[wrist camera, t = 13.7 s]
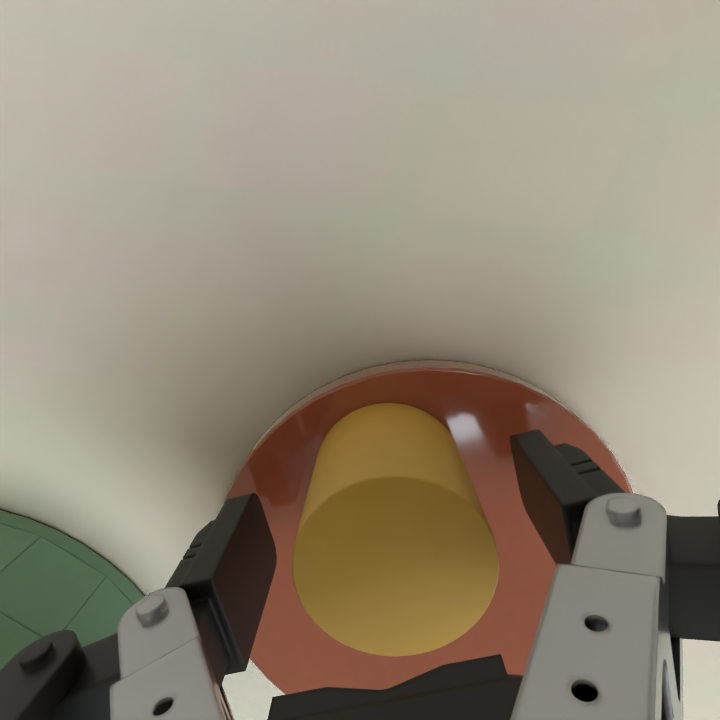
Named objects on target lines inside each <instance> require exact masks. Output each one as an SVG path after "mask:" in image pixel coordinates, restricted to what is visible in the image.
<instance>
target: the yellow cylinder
mask: <svg viewBox="0 0 720 720" xmlns="http://www.w3.org/2000/svg"><path fill="white" fill-rule="evenodd" d="M498 575H499V555H498V549H497V545H496V542H495V539H494V536H493V533H492V531H491V528H490V526H489V523H488V521H487V518H486V516H485V513H484V511H483V508H482V506H481V503H480V501H479V498H478V496H477V494H476V491H475V489H474V486H473V484H472V481H471V479H470V476H469V474H468V471H467V469H466V466H465V464H464V461H463V459H462V457H461V454H460V452H459V449H458V447H457V445H456V443H455V441H454V439H453V437H452V435H451V434H450V433H449V431H448V430H447V429H446V428H445V427H444V425H443V424H442V423H440V422H439V421H438V420H437V419H436V418H434V417H433V416H431V415H430V414H428V413H427V412H425V411H422V410H420V409H418V408H415V407H412V406H409V405H404V404H399V403H379V404H373V405H369V406H366V407H362V408H359V409H357V410H355V411H353V412H351V413H349V414H348V415H346V416H345V417H343V418H342V419H341V420H340V421H338V422H337V423H336V424H335V425H334V426H333V427H332V428H331V430H330V431H329V432H328V434H327V435H326V437H325V438H324V440H323V442H322V444H321V446H320V449H319V452H318V455H317V459H316V463H315V466H314V470H313V474H312V478H311V482H310V485H309V489H308V493H307V497H306V501H305V504H304V508H303V512H302V516H301V520H300V524H299V527H298V531H297V535H296V539H295V543H294V547H293V553H292V577H293V582H294V586H295V590H296V593H297V595H298V597H299V600H300V602H301V604H302V606H303V607H304V609H305V610H306V612H307V614H308V615H309V616H310V617H311V619H312V620H313V621H314V622H315V623H316V624H317V625H318V626H319V627H320V628H321V629H322V630H323V631H324V632H326V633H327V634H328V635H330V636H331V637H332V638H334V639H336V640H337V641H339V642H341V643H343V644H344V645H347V646H349V647H351V648H354V649H356V650H359V651H363V652H366V653H370V654H376V655H382V656H409V655H416V654H421V653H425V652H429V651H432V650H435V649H438V648H440V647H443V646H445V645H447V644H449V643H451V642H452V641H454V640H456V639H457V638H459V637H460V636H462V635H463V634H464V633H466V632H467V631H468V630H469V629H470V628H471V627H472V626H474V625H475V624H476V622H477V621H478V620H479V619H480V618H481V616H482V615H483V614H484V612H485V611H486V609H487V607H488V606H489V604H490V602H491V600H492V597H493V595H494V592H495V589H496V586H497V582H498Z"/></svg>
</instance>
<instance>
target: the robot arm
mask: <svg viewBox="0 0 720 720" xmlns="http://www.w3.org/2000/svg"><path fill="white" fill-rule="evenodd" d="M510 446H511V451H512V456H513V461H514V466H515V471H516V476H517V481H518V486H519V491H520V495H521V498H522V502H523V505H524V507H525V510H526V512H527V514H528V516H529V518H530V520H531V521H532V523H533V525H534V527H535V529H536V530H537V532H538V534H539V536H540V537H541V539H542V541H543V543H544V544H545V546H546V548H547V550H548V551H549V553H550V555H551V557H552V558H553V560H554V562H555V564H556V565H557V566H556V568H555V571H554V574H553V577H552V581H551V584H550V587H549V591H548V594H547V597H546V601H545V604H544V608H543V611H542V614H541V618H540V621H539V624H538V628H537V631H536V634H535V638H534V641H533V645H532V648H531V651H530V655H529V658H528V661H527V665H526V668H525V671H524V675H523V676H522V675H514V674H507V672H506V669H505V665H504V662H503V659H502V656H501V654H498V655H492V656H487V657H482V658H477V659H471V660H466V661H461V662H455V663H450V664H445V665H442V666H439V667H437V668H435V669H432V670H430V671H428V672H426V673H423V674H421V675H419V676H416V677H414V678H412V679H409V680H407V681H405V682H403V683H400V684H398V685H396V686H393V687H391V688H388V689H384V690H374V689H356V688H338V687H324V688H318V689H313V690H308V691H303V692H297V693H292V694H287V695H281V696H276V697H273V698H272V702H271V707H270V711H269V716H268V720H683V646H682V638H683V639H696V640H710V641H720V500H719V502H718V515H719V516H716V517H679V516H670V515H666V511H665V509H664V507H663V506H662V505H661V504H660V503H658V502H657V501H655V500H653V499H651V498H649V497H646V496H643V495H639V494H634V493H626V492H625V491H624V490H623V489H622V488H621V487H620V486H619V485H618V484H617V483H616V482H615V481H614V480H613V479H611V478H610V477H609V476H608V475H607V474H606V473H605V472H604V471H603V470H601V468H600V467H599V466H598V465H597V464H596V463H595V462H594V461H592V459H591V458H590V457H589V456H588V455H587V454H586V453H585V452H584V451H583V450H582V449H580V448H577V447H575V446H572V445H570V444H567V443H562V444H558V445H553V444H552V443H551V442H550V441H549V440H548V439H547V438H546V436H545V435H544V434H543V433H542V432H541V431H540V430H539V429H538V430H533V431H529V432H524V433H520V434H516V435H511V436H510ZM276 565H277V554H276V547H275V543H274V540H273V537H272V534H271V531H270V528H269V525H268V522H267V519H266V516H265V513H264V510H263V507H262V504H261V501H260V499H259V497H258V495H257V494H256V493H252V494H247V495H243V496H238V497H234V498H230V499H227V500H226V502H225V504H224V505H223V507H222V509H221V511H220V512H219V514H218V516H217V518H216V520H213V521H211V522H210V523H208V524H207V525H206V526H205V527H204V528H203V529H202V530H201V531H200V532H199V533H197V535H196V537H195V538H194V540H193V542H192V543H191V545H190V549H188V550H187V552H186V553H185V555H184V557H183V560H181V562H180V563H179V565H178V567H177V568H176V570H175V572H174V573H173V575H172V577H171V578H170V580H169V582H168V583H167V585H166V587H165V588H164V589H160V590H157V591H155V592H153V593H150V594H148V595H147V596H145V597H143V598H142V599H140V600H139V601H137V602H136V603H135V604H133V605H132V606H131V607H130V608H129V609H128V610H127V611H126V612H125V613H124V614H123V616H122V617H121V619H120V621H119V623H118V626H117V633H115V634H113V635H111V636H108V637H106V638H104V639H101V640H99V641H96V642H94V643H92V644H89V645H87V646H85V647H82V646H81V644H80V642H79V639H78V637H77V635H76V633H75V632H74V631H71V630H61V631H57V632H54V633H51V634H48V635H46V636H44V637H42V638H40V639H38V640H36V641H34V642H33V643H31V644H30V645H28V646H27V647H25V648H24V649H23V650H21V651H20V652H19V653H17V654H16V655H15V656H14V657H13V658H12V659H11V660H10V661H9V662H8V663H7V664H6V665H5V666H4V667H3V668H2V669H1V671H0V720H234V718H233V715H232V712H231V709H230V706H229V703H228V700H227V697H226V695H225V692H224V689H223V687H222V682H223V679H224V676H225V675H227V674H232V673H237V672H242V671H246V668H247V664H248V661H249V657H250V654H251V651H252V647H253V644H254V641H255V637H256V634H257V630H258V627H259V624H260V620H261V617H262V613H263V610H264V607H265V603H266V600H267V597H268V593H269V590H270V586H271V583H272V580H273V576H274V573H275V569H276Z"/></svg>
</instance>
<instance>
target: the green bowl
mask: <svg viewBox="0 0 720 720" xmlns="http://www.w3.org/2000/svg"><path fill="white" fill-rule="evenodd" d="M143 597H145V596H144V595H143V594H142V593H141V592H140V591H139V590H138V589H137V588H136V586H135V585H134V584H133V583H132V582H131V581H130V580H129V579H128V578H126V577H125V576H124V575H123V574H122V573H121V572H120V571H119V570H117V569H116V568H115V567H114V566H113V565H112V564H111V563H109V562H108V561H107V560H105V559H104V558H102V557H101V556H99V555H98V554H97V553H95V552H94V551H92V550H91V549H89V548H88V547H87V546H85V545H84V544H82V543H80V542H78V541H76V540H74V539H73V538H71V537H69V536H67V535H65V534H63V533H62V532H60V531H58V530H56V529H53V528H51V527H49V526H46V525H44V524H41V523H39V522H37V521H34V520H32V519H29V518H26V517H23V516H19V515H16V514H12V513H9V512H6V511H2V510H0V671H1V669H2V668H3V667H4V666H5V665H6V664H7V663H8V662H9V661H10V660H11V659H12V658H13V657H14V656H15V655H16V654H17V653H19V652H20V651H21V650H23V649H24V648H25V647H27V646H28V645H30V644H31V643H33V642H34V641H36V640H38V639H40V638H42V637H44V636H46V635H48V634H51V633H54V632H57V631H61V630H71V631H74V632H75V633H76V635H77V637H78V639H79V642H80V644H81V646H82V647H85V646H87V645H89V644H92V643H94V642H96V641H99V640H101V639H104V638H106V637H108V636H111V635H113V634H115V633H117V626H118V623H119V621H120V619H121V617H122V616H123V614H124V613H125V612H126V611H127V610H128V609H129V608H130V607H131V606H132V605H133V604H135V603H136V602H137V601H139V600H140V599H142V598H143Z"/></svg>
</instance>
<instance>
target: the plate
mask: <svg viewBox="0 0 720 720" xmlns="http://www.w3.org/2000/svg"><path fill="white" fill-rule="evenodd" d="M379 403H399V404H404V405H409V406H412V407H415V408H418V409H420V410H422V411H425V412H427V413H428V414H430V415H431V416H433V417H434V418H436V419H437V420H438V421H439V422H440V423H442V424H443V425H444V427H445V428H446V429H447V430H448V431H449V433H450V434H451V435H452V437H453V439H454V441H455V443H456V445H457V447H458V449H459V452H460V454H461V457H462V459H463V461H464V464H465V466H466V469H467V471H468V474H469V476H470V479H471V481H472V484H473V486H474V489H475V491H476V494H477V496H478V498H479V501H480V503H481V506H482V508H483V511H484V513H485V516H486V518H487V521H488V523H489V526H490V528H491V531H492V533H493V536H494V539H495V542H496V545H497V549H498V555H499V575H498V582H497V586H496V589H495V592H494V595H493V597H492V600H491V602H490V604H489V606H488V607H487V609H486V611H485V612H484V614H483V615H482V616H481V618H480V619H479V620H478V621H477V622H476V624H475V625H474V626H472V627H471V628H470V629H469V630H468V631H467V632H466V633H464V634H463V635H462V636H460V637H459V638H457V639H456V640H454V641H452V642H451V643H449V644H447V645H445V646H443V647H440V648H438V649H435V650H432V651H429V652H425V653H421V654H416V655H409V656H382V655H376V654H370V653H366V652H363V651H359V650H356V649H354V648H351V647H349V646H347V645H344V644H343V643H341V642H339V641H337V640H336V639H334V638H332V637H331V636H330V635H328V634H327V633H326V632H324V631H323V630H322V629H321V628H320V627H319V626H318V625H317V624H316V623H315V622H314V621H313V620H312V619H311V617H310V616H309V615H308V614H307V612H306V610H305V609H304V607H303V606H302V604H301V602H300V600H299V597H298V595H297V593H296V590H295V586H294V582H293V577H292V553H293V547H294V543H295V539H296V535H297V531H298V527H299V524H300V520H301V516H302V512H303V508H304V504H305V501H306V497H307V493H308V489H309V485H310V482H311V478H312V474H313V470H314V466H315V463H316V459H317V455H318V452H319V449H320V446H321V444H322V442H323V440H324V438H325V437H326V435H327V434H328V432H329V431H330V430H331V428H332V427H333V426H334V425H335V424H336V423H337V422H338V421H340V420H341V419H342V418H343V417H345V416H346V415H348V414H349V413H351V412H353V411H355V410H357V409H359V408H362V407H366V406H369V405H373V404H379ZM538 429H539V430H540V431H541V432H542V433H543V434H544V435H545V436H546V438H547V439H548V440H549V441H550V442H551V443H552V444H553V445H558V444H562V443H567V444H570V445H572V446H575V447H577V448H580V449H582V450H583V451H584V452H585V453H586V454H587V455H588V456H589V457H590V458H591V459H592V461H594V462H595V463H596V464H597V465H598V466H599V467H600V468H601V470H603V471H604V472H605V473H606V474H607V475H608V476H609V477H610V478H611V479H613V480H614V481H615V482H616V483H617V484H618V485H619V486H620V487H621V488H622V489H623V490H624V491H625V492H626V493H633V492H632V489H631V487H630V485H629V482H628V480H627V477H626V475H625V473H624V472H623V470H622V469H621V467H620V465H619V464H618V462H617V461H616V459H615V457H614V456H613V454H612V452H611V451H610V450H609V449H608V448H607V446H606V445H605V444H604V443H603V442H602V441H601V439H600V438H599V437H598V436H597V435H596V433H595V432H594V431H593V430H592V429H590V428H589V427H588V426H587V425H586V424H585V423H584V422H583V421H581V420H580V419H579V418H578V417H577V416H576V415H575V414H573V413H572V412H571V411H570V410H569V409H568V408H567V407H565V406H564V405H563V404H562V403H561V402H559V401H558V400H556V399H555V398H553V397H552V396H550V395H549V394H547V393H545V392H544V391H542V390H541V389H539V388H538V387H536V386H534V385H531V384H529V383H527V382H525V381H523V380H521V379H519V378H517V377H515V376H513V375H509V374H506V373H503V372H500V371H497V370H494V369H491V368H488V367H484V366H479V365H474V364H468V363H463V362H457V361H441V360H417V361H403V362H395V363H390V364H385V365H380V366H375V367H370V368H367V369H364V370H361V371H358V372H355V373H352V374H349V375H346V376H343V377H341V378H339V379H337V380H335V381H333V382H331V383H329V384H327V385H324V386H322V387H320V388H318V389H317V390H315V391H313V392H312V393H310V394H309V395H307V396H306V397H304V398H303V399H301V400H300V401H298V402H297V403H295V404H294V405H293V406H292V407H291V408H289V409H288V410H287V411H286V412H285V413H284V414H283V415H281V416H280V417H279V418H278V419H277V420H276V421H275V422H274V423H273V424H272V425H271V426H270V427H269V428H268V430H267V431H266V432H265V433H264V434H263V435H262V437H261V438H260V439H259V440H258V441H257V442H256V444H255V446H254V447H253V449H252V450H251V452H250V453H249V455H248V457H247V458H246V460H245V461H244V463H243V464H242V466H241V468H240V470H239V471H238V473H237V475H236V477H235V479H234V481H233V483H232V485H231V488H230V490H229V492H228V494H227V497H226V499H225V502H226V500H227V499H230V498H234V497H238V496H243V495H247V494H252V493H256V494H257V495H258V497H259V499H260V501H261V504H262V507H263V510H264V513H265V516H266V519H267V522H268V525H269V528H270V531H271V534H272V537H273V540H274V543H275V547H276V554H277V565H276V569H275V573H274V576H273V580H272V583H271V586H270V590H269V593H268V597H267V600H266V603H265V607H264V610H263V613H262V617H261V620H260V624H259V627H258V630H257V634H256V637H255V641H254V644H253V647H252V651H251V654H250V657H249V658H250V659H251V660H252V662H253V663H254V664H255V665H256V666H257V667H258V668H259V670H260V671H261V672H262V673H263V674H264V675H265V676H266V678H267V679H268V680H270V681H271V682H272V683H273V684H274V685H275V686H276V687H277V688H279V689H280V690H281V691H282V692H283V693H284V694H285V695H287V694H292V693H297V692H303V691H308V690H313V689H318V688H324V687H338V688H356V689H374V690H384V689H388V688H391V687H393V686H396V685H398V684H400V683H403V682H405V681H407V680H409V679H412V678H414V677H416V676H419V675H421V674H423V673H426V672H428V671H430V670H432V669H435V668H437V667H439V666H442V665H445V664H450V663H455V662H461V661H466V660H471V659H477V658H482V657H487V656H492V655H498V654H501V656H502V659H503V662H504V665H505V669H506V672H507V674H514V675H522V676H523V675H524V671H525V668H526V665H527V661H528V658H529V655H530V651H531V648H532V645H533V641H534V638H535V634H536V631H537V628H538V624H539V621H540V618H541V614H542V611H543V608H544V604H545V601H546V597H547V594H548V591H549V587H550V584H551V581H552V577H553V574H554V571H555V568H556V566H557V565H556V564H555V562H554V560H553V558H552V557H551V555H550V553H549V551H548V550H547V548H546V546H545V544H544V543H543V541H542V539H541V537H540V536H539V534H538V532H537V530H536V529H535V527H534V525H533V523H532V521H531V520H530V518H529V516H528V514H527V512H526V510H525V507H524V505H523V502H522V498H521V495H520V491H519V486H518V481H517V476H516V471H515V466H514V461H513V456H512V451H511V446H510V436H511V435H516V434H520V433H524V432H529V431H533V430H538ZM225 502H224V504H225Z"/></svg>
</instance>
